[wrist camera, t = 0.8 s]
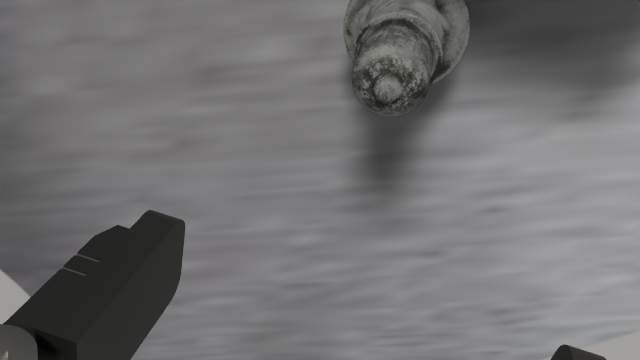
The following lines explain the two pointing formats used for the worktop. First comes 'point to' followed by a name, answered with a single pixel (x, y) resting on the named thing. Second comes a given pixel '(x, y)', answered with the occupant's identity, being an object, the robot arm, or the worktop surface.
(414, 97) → the stone finial
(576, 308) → the worktop surface
